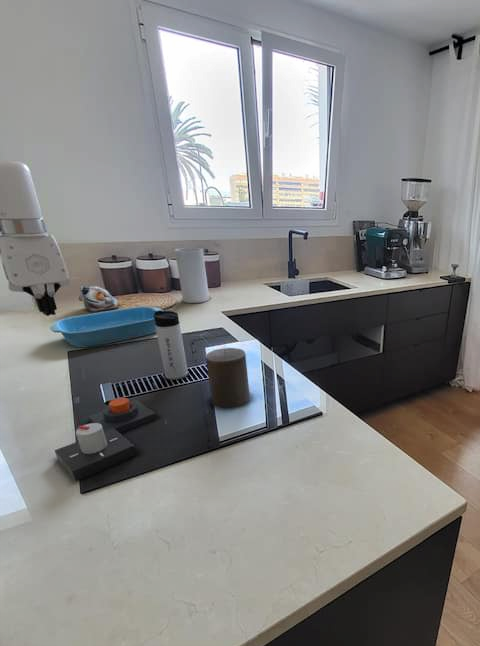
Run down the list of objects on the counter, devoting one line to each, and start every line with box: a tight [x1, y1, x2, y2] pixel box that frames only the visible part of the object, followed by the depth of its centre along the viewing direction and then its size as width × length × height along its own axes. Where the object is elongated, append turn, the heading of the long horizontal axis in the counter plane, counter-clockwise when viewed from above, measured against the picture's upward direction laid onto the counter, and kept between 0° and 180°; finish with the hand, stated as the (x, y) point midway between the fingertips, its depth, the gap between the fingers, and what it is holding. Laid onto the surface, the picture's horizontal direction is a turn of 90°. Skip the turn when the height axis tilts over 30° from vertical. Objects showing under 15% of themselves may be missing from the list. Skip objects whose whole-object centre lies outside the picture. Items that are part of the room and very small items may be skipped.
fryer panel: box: [54, 428, 137, 482], centre depth 80 cm, size 11×10×3 cm
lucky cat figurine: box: [79, 285, 120, 313], centre depth 177 cm, size 15×12×14 cm
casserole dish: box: [49, 306, 164, 348], centre depth 148 cm, size 37×22×7 cm, turn 134°
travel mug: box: [154, 309, 189, 381], centre depth 113 cm, size 6×7×20 cm
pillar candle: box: [205, 347, 251, 409], centre depth 101 cm, size 10×10×15 cm
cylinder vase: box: [174, 247, 210, 304], centre depth 194 cm, size 12×12×25 cm
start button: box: [108, 397, 130, 413], centre depth 92 cm, size 4×4×2 cm
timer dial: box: [75, 423, 107, 454], centre depth 78 cm, size 4×4×5 cm
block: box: [87, 399, 157, 434], centre depth 93 cm, size 11×10×4 cm
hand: (49, 314), depth 88 cm, fingers closed
